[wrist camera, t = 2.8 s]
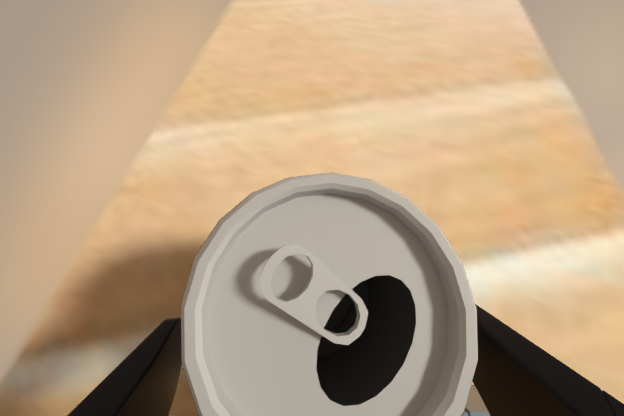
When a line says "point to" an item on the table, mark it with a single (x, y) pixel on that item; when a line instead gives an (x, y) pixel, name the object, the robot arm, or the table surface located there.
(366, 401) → the can
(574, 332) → the table surface
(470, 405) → the bowl
